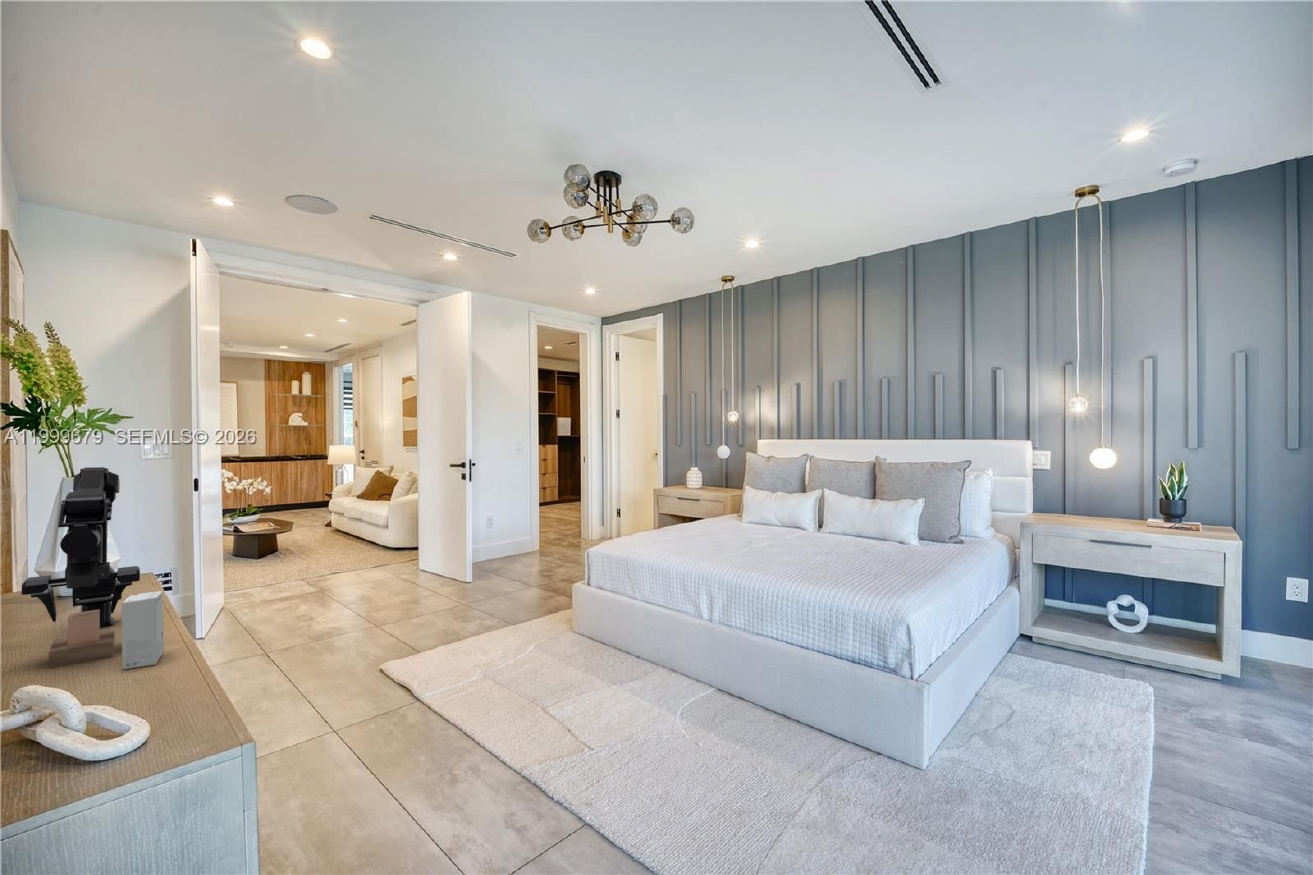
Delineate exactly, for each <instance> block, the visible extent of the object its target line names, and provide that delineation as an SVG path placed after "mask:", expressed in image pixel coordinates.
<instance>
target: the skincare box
mask: <svg viewBox="0 0 1313 875" xmlns="http://www.w3.org/2000/svg"><path fill="white" fill-rule="evenodd" d="M163 613H164V610H163V590H158V591H151V592H143V593H136V594H130V595H129V596H128V597H126V598H125V599H124V600H123V601H122V602H121V653H122V654H121V658H122V660H121V664H122V666H121V668H122V670H127V669H128V670H129V669H133V668H134V669H135V668H140V667H141V668H143V667H149V666H155V665H157V664H158V662H159V659H160V657H161V658H162V655H163V654H164V614H163Z"/></svg>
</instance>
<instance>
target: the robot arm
mask: <svg viewBox="0 0 1313 875" xmlns="http://www.w3.org/2000/svg"><path fill="white" fill-rule="evenodd" d="M120 483H121V482H120V475H119V474H117V473H114V472H113V471H109V468H108V467H105V466H104V467H103V466H101V467H91V466H90V467H83V468H80V469H79V473H76V474H75V475H73V480H72V491H70V492H68V493H67V494H66V496H65V499H64V500H61V501H60V508H59V518H58V524H57V528H67V529H68V530H67V531H66V534H65V535H64V536H63V537H62V538H61V541H60V546H59V547H60V549H61V550H62V552H63V553H64V554H66V567H65V569H64V577H58V578H52V575H50V574H49V575H41V576H39V575H38V576H32V577H31V576H30V577H27V578H26V579H25V580H24V581H23V582H22V583H21V595H22V596H26V595H30V598H37V599H39V600H40V602H41V603H42V604H43V605H44V607H45V608H46V611H47V613H48V615H49V617H50V619H51V620H52V622H53V623H56V621H57V608H56V602H55V593H54V588H58V587H65V586H66V588H67V589H69V590H70V589H71V590H72V591H71V593H72V607H73V608H74V607H75V608H76V607H77V606H80V612H85V611H92V610H99V609H100V628H103V627H109V626H114V617H112V614H113V613H114V612H115V610H116V607H117V604H118V602H119V601H120V600H122V599H123V598H122V597H123V596H122V595H123V594H122V593H123V592H124V591H125V589H126V588H127V587H129V586H133V583H134V582H140V581H141V577H140V576H141V568H140V567H139V566H138V565H134V566H133V565H132V566H126V567H124V566H123V567H117V571H115V569H113V567H112V566H110V565H111V562H110V561H108V529H109V528H108V524H109V523H108V522H109V521H112V516H113V515H112V513H113V503H114V502H115V500H116V499H117V494H119V493H120V487H121V486H120Z"/></svg>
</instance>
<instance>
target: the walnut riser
mask: <svg viewBox="0 0 1313 875" xmlns="http://www.w3.org/2000/svg"><path fill="white" fill-rule="evenodd" d="M115 631H116V630H115V629H113V630H105V631H100V635H99V641H93V642H87V643H82V644H76V645H70V646H68V637H64V638H63V637H62V638H57V639H53V641H52V644H51V645H50V646H51V647H50V649H49V651H48V669H54V668H59V667H65V666H71V665H77V664H83V663H88V662H93V661H94V662H95V661H98V660H103V659H108V658H109V659H111V658H114V650H115V642H116V641H115V640H116V639H115V636H116V635H115V633H116V632H115Z"/></svg>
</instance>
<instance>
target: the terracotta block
mask: <svg viewBox="0 0 1313 875" xmlns="http://www.w3.org/2000/svg"><path fill="white" fill-rule="evenodd" d="M100 628H101V627H100V609H99V610H92V611H85V612H81V611H80V612H74V613H68V617H67V638H68V646H70V645H76V644H82V643H87V642H93V641H99V635H100V632H101V630H100Z"/></svg>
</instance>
